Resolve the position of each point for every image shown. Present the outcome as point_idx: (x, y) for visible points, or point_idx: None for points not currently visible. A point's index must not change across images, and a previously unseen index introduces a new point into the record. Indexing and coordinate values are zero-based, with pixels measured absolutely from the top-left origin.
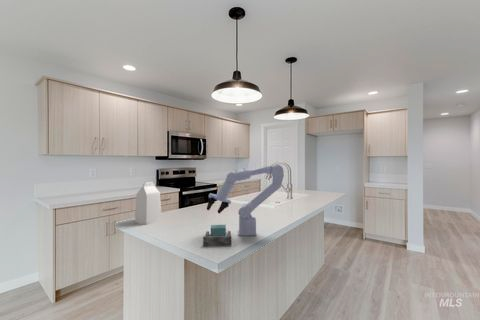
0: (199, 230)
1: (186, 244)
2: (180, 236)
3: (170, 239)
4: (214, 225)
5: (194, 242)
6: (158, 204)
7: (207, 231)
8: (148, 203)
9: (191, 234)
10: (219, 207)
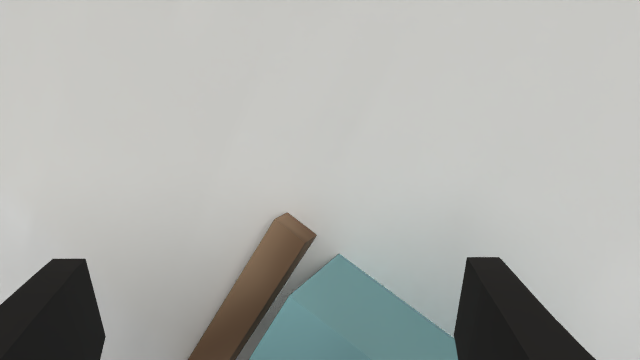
0: (271, 24)
1: None
2: (27, 99)
3: None
4: (317, 358)
5: None
6: None
7: (286, 230)
8: None
9: (135, 114)
10: (518, 349)
